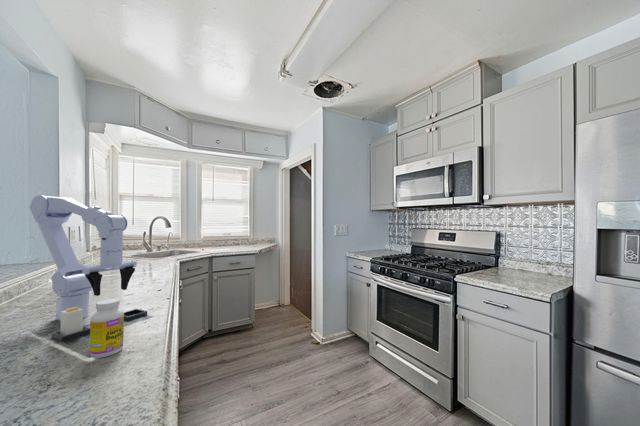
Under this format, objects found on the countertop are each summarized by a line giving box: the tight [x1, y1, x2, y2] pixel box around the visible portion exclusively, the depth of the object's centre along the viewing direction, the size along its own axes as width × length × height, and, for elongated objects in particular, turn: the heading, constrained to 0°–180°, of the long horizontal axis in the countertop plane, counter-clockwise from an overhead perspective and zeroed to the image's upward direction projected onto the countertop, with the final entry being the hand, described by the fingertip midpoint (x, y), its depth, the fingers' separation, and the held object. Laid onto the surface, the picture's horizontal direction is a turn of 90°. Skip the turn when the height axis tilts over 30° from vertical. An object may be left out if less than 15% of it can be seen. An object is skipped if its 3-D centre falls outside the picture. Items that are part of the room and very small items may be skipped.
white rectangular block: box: [59, 307, 84, 336], centre depth 74 cm, size 4×4×8 cm
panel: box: [46, 308, 155, 346], centre depth 81 cm, size 14×22×2 cm, turn 154°
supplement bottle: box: [89, 298, 125, 359], centre depth 66 cm, size 7×7×13 cm
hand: (111, 292), depth 85 cm, fingers open, 7 cm apart
